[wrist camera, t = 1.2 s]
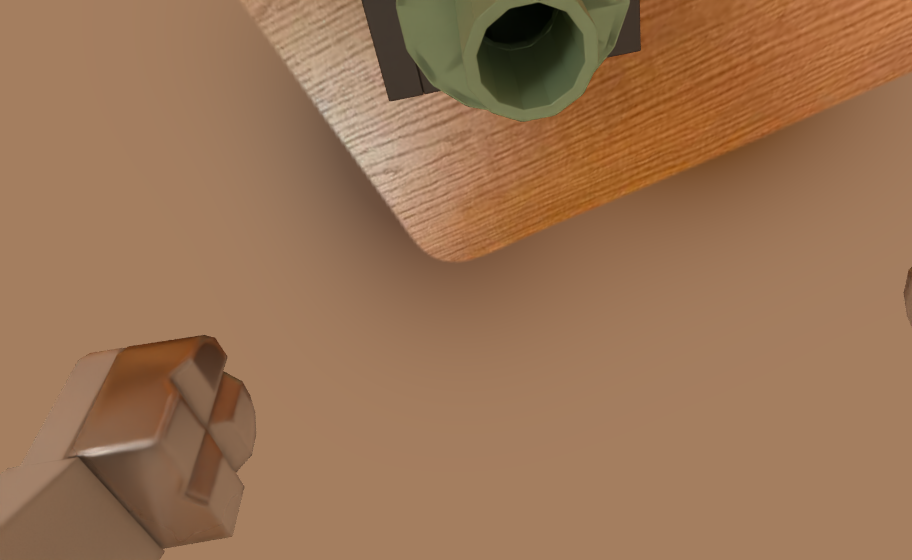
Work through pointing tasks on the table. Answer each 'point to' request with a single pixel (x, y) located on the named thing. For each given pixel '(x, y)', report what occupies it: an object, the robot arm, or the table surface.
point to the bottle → (511, 50)
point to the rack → (408, 77)
